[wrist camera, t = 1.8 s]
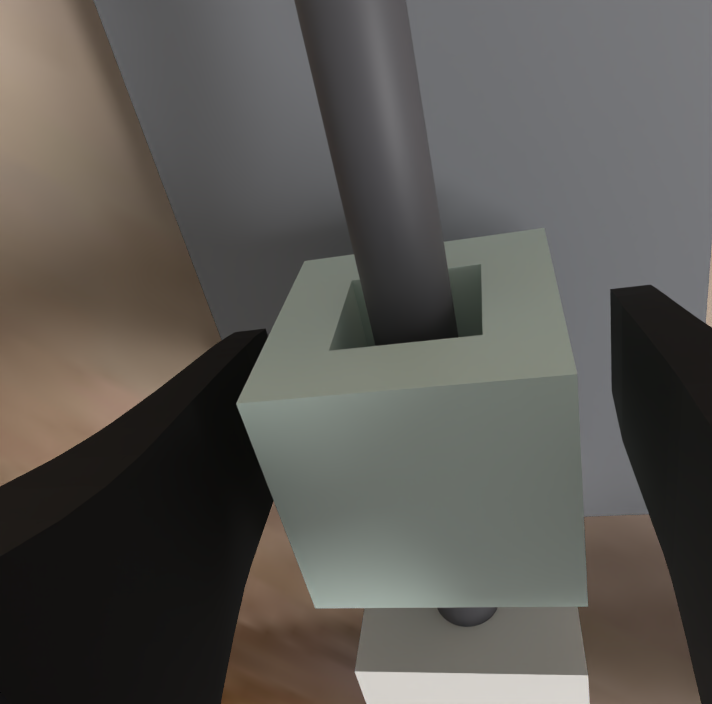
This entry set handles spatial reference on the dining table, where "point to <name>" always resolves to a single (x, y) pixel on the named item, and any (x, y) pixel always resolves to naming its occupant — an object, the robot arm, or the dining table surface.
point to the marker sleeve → (427, 439)
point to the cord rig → (439, 213)
